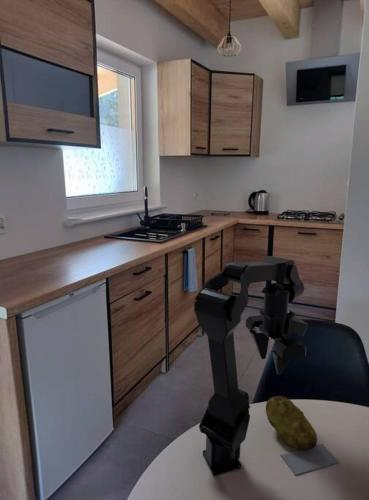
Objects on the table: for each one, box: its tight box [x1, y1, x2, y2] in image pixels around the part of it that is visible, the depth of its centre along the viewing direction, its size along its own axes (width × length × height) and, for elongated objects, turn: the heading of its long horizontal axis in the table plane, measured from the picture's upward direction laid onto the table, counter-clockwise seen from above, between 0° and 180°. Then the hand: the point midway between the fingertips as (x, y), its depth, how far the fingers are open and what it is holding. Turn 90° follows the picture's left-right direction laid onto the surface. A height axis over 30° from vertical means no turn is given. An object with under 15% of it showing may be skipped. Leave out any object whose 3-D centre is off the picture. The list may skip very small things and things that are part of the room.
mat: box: [280, 443, 340, 476], centre depth 77 cm, size 11×5×1 cm, turn 108°
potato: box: [265, 395, 318, 450], centre depth 83 cm, size 8×13×8 cm, turn 15°
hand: (271, 366), depth 89 cm, fingers open, 7 cm apart
